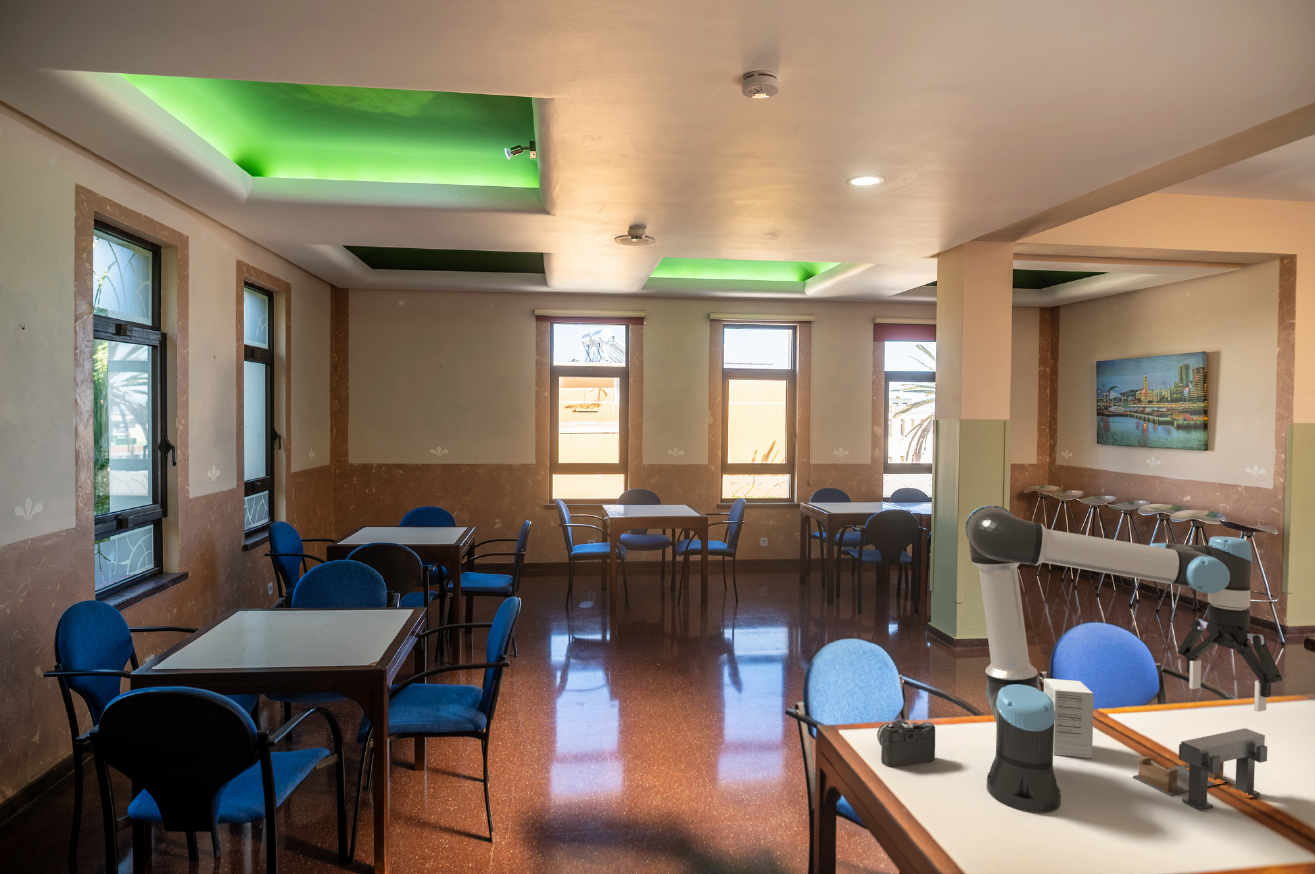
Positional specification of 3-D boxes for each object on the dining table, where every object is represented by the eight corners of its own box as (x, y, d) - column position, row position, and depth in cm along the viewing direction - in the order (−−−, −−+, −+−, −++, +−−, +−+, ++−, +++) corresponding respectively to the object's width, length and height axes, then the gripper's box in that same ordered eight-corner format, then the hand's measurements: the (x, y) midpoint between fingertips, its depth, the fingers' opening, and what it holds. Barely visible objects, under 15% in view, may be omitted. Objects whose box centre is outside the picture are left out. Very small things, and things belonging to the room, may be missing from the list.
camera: (912, 743, 190) (912, 706, 189) (939, 762, 179) (940, 723, 179) (864, 749, 186) (865, 711, 185) (889, 769, 175) (890, 729, 175)
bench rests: (1170, 796, 164) (1171, 773, 164) (1132, 777, 173) (1133, 756, 172) (1228, 782, 171) (1229, 760, 171) (1189, 764, 179) (1190, 744, 179)
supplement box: (1093, 759, 182) (1095, 693, 181) (1053, 755, 184) (1055, 690, 183) (1079, 742, 191) (1081, 680, 191) (1041, 738, 193) (1043, 677, 193)
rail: (1199, 767, 157) (1199, 749, 157) (1180, 758, 161) (1181, 741, 161) (1264, 752, 165) (1264, 735, 165) (1244, 744, 169) (1245, 727, 169)
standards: (1208, 814, 157) (1210, 758, 156) (1174, 798, 163) (1176, 744, 163) (1267, 799, 163) (1269, 745, 163) (1233, 783, 170) (1234, 732, 170)
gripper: (1304, 618, 152) (1301, 717, 152) (1183, 591, 175) (1181, 677, 176) (1282, 622, 149) (1279, 722, 150) (1161, 594, 173) (1159, 681, 173)
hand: (1226, 698), depth 163 cm, fingers open, 13 cm apart
